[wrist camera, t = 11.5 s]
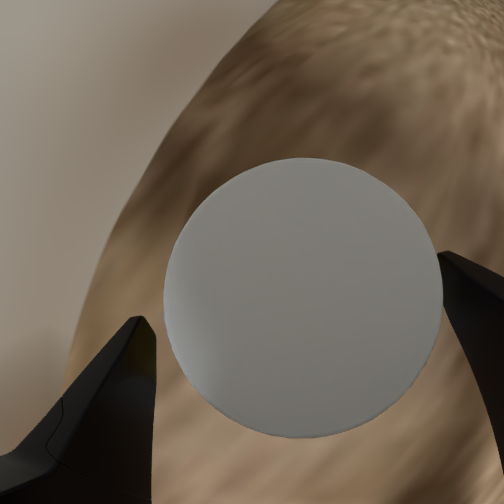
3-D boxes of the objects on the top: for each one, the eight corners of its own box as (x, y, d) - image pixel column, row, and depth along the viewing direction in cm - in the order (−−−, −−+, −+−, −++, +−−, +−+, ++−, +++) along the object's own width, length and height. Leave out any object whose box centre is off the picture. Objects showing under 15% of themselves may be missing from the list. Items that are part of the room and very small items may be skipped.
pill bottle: (260, 225, 16) (211, 79, 5) (365, 267, 15) (503, 195, 4) (214, 331, 16) (75, 377, 4) (321, 375, 15) (386, 505, 3)
